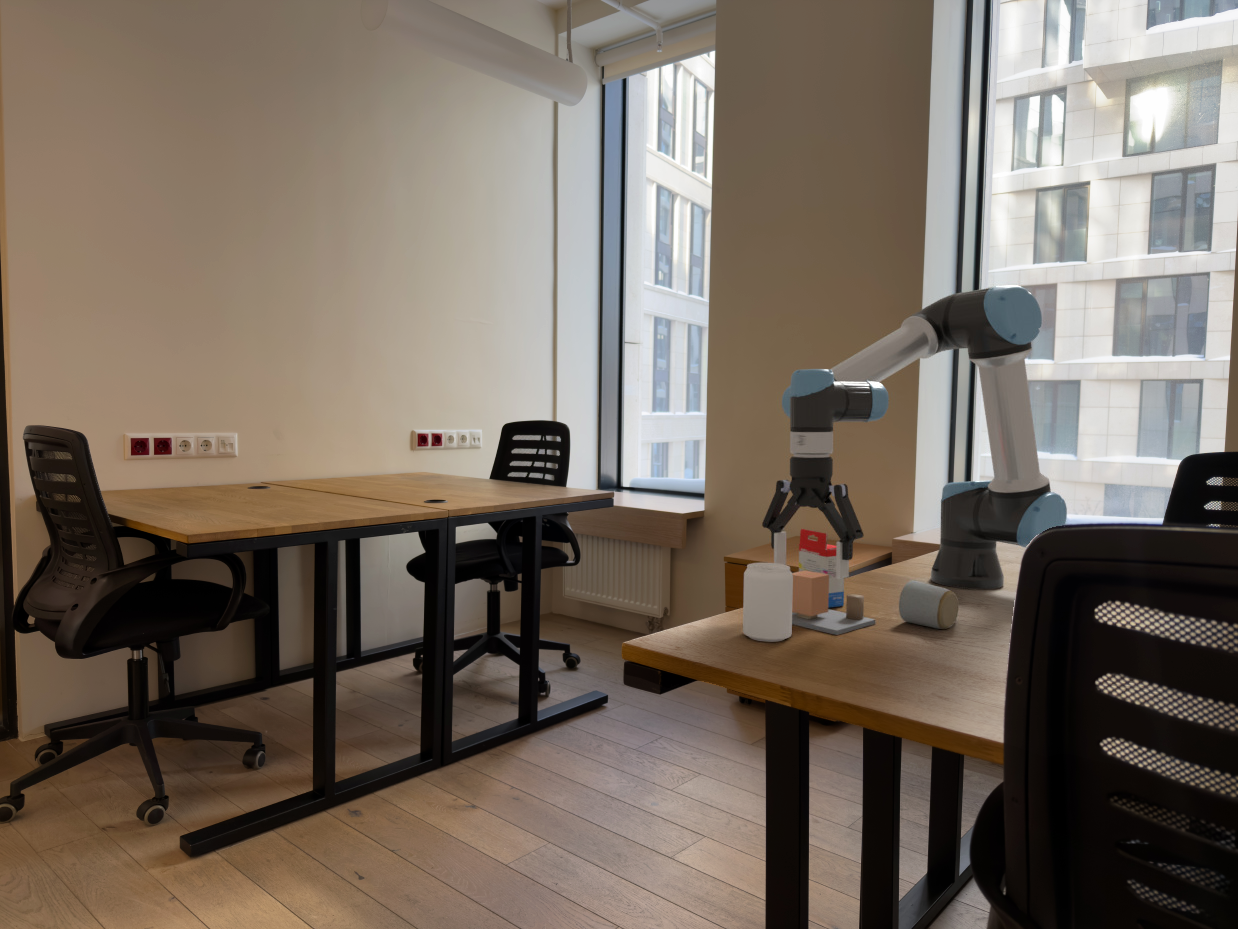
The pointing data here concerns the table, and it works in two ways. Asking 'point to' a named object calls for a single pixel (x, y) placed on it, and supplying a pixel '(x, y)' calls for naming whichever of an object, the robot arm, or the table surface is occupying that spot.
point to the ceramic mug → (928, 605)
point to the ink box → (821, 563)
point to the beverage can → (767, 602)
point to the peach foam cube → (810, 593)
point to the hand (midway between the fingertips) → (810, 572)
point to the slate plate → (838, 618)
